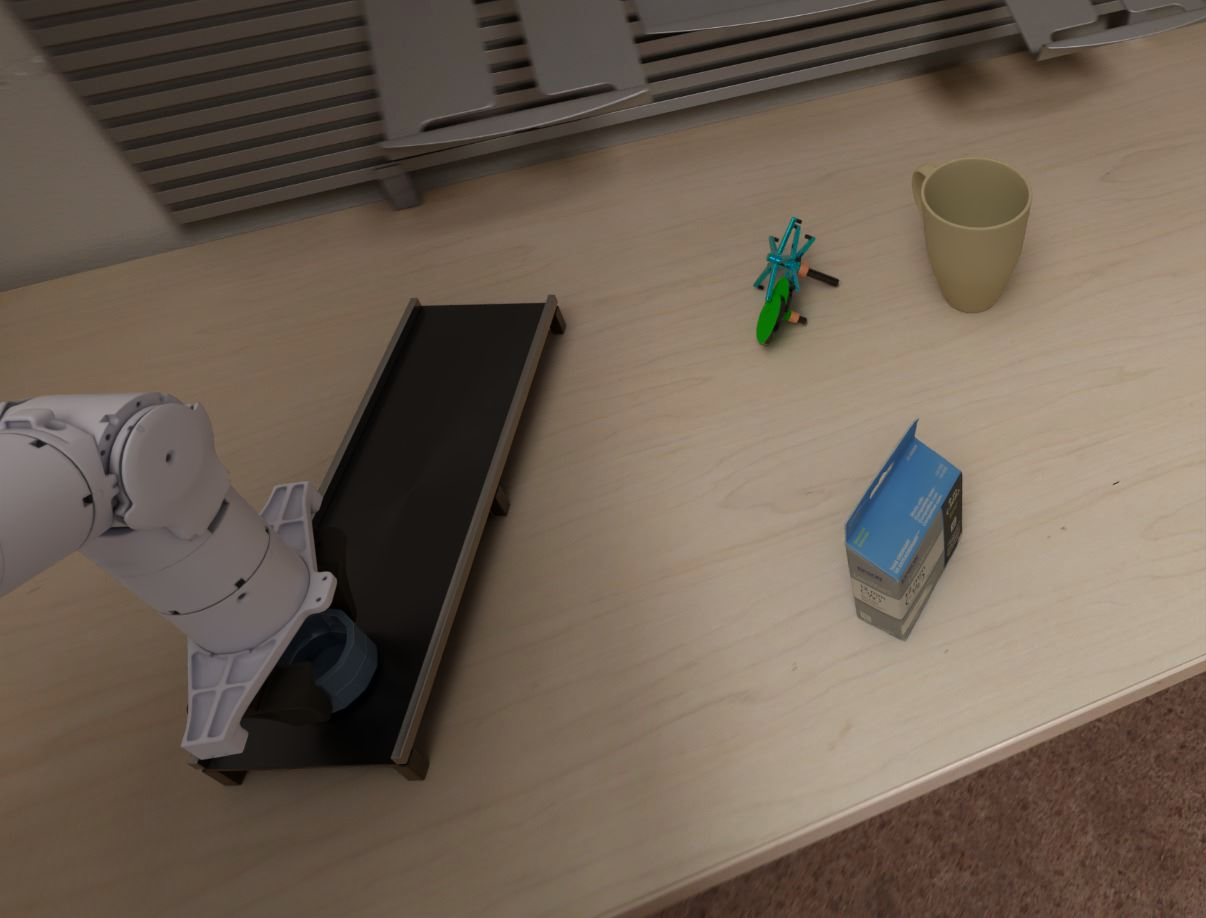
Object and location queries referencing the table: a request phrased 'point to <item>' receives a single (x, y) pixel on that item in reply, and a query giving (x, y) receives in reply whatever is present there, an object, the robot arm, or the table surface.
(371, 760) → the conveyor belt
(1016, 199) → the mug
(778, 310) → the stick construction toy
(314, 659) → the cup
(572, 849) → the table surface
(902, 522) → the label tape box
